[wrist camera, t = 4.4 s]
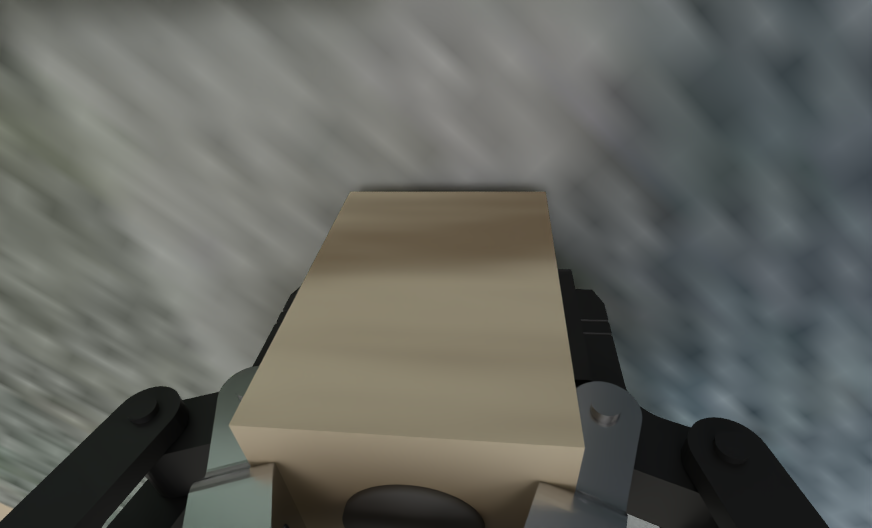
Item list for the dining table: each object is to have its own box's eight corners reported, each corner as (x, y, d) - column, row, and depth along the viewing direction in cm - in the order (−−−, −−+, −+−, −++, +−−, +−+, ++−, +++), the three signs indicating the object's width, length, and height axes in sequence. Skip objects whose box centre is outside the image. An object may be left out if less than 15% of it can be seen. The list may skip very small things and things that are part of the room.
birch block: (350, 191, 12) (224, 435, 7) (545, 191, 12) (586, 458, 6) (375, 329, 15) (303, 576, 10) (532, 334, 15) (552, 601, 9)
